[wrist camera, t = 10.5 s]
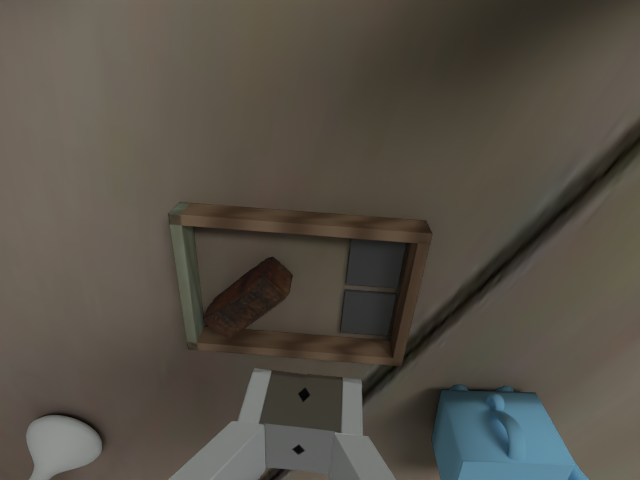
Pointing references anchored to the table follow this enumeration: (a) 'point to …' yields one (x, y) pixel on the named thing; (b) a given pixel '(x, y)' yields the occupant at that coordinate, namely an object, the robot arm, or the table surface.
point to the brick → (249, 298)
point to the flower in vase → (60, 445)
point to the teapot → (498, 438)
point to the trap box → (303, 224)
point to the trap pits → (371, 270)
